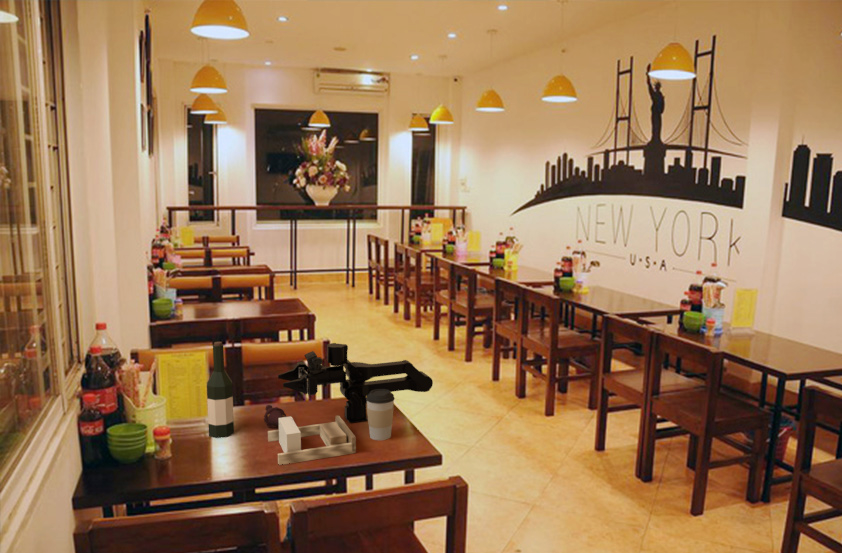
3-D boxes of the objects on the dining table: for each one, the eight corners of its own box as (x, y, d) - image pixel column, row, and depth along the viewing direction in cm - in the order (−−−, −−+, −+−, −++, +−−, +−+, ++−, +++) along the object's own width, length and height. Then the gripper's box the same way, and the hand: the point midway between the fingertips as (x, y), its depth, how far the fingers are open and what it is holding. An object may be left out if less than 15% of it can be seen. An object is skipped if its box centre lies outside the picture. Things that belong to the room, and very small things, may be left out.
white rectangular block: (291, 440, 202) (291, 416, 200) (301, 458, 189) (300, 432, 188) (279, 442, 200) (278, 417, 199) (287, 460, 187) (286, 434, 186)
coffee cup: (360, 438, 203) (360, 392, 201) (375, 428, 211) (375, 384, 209) (385, 443, 199) (385, 397, 197) (399, 433, 207) (399, 389, 205)
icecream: (296, 412, 208) (278, 403, 220) (274, 411, 204) (257, 401, 216) (292, 433, 207) (274, 423, 220) (270, 433, 203) (254, 422, 216)
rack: (339, 430, 210) (339, 415, 209) (355, 452, 192) (355, 437, 192) (268, 440, 201) (267, 425, 201) (278, 465, 184) (278, 448, 183)
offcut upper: (334, 429, 206) (334, 421, 205) (346, 442, 195) (346, 435, 194) (319, 431, 204) (319, 424, 203) (330, 445, 193) (330, 437, 192)
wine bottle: (238, 428, 211) (235, 339, 206) (228, 438, 202) (225, 346, 198) (214, 427, 211) (210, 339, 207) (203, 437, 203) (199, 345, 199)
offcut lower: (335, 435, 207) (335, 427, 207) (347, 452, 194) (347, 444, 194) (320, 437, 205) (320, 430, 205) (331, 454, 192) (331, 446, 192)
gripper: (320, 345, 221) (274, 349, 215) (334, 359, 204) (285, 364, 198) (321, 376, 223) (275, 381, 217) (334, 392, 206) (286, 398, 200)
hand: (280, 380), depth 208 cm, fingers open, 9 cm apart
